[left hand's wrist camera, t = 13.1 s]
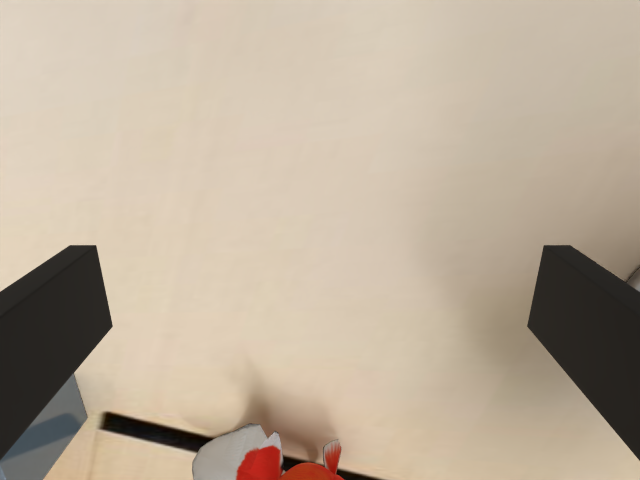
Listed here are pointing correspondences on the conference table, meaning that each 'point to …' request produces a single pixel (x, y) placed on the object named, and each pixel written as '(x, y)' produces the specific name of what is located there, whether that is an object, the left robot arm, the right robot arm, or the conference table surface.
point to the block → (45, 436)
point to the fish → (258, 458)
